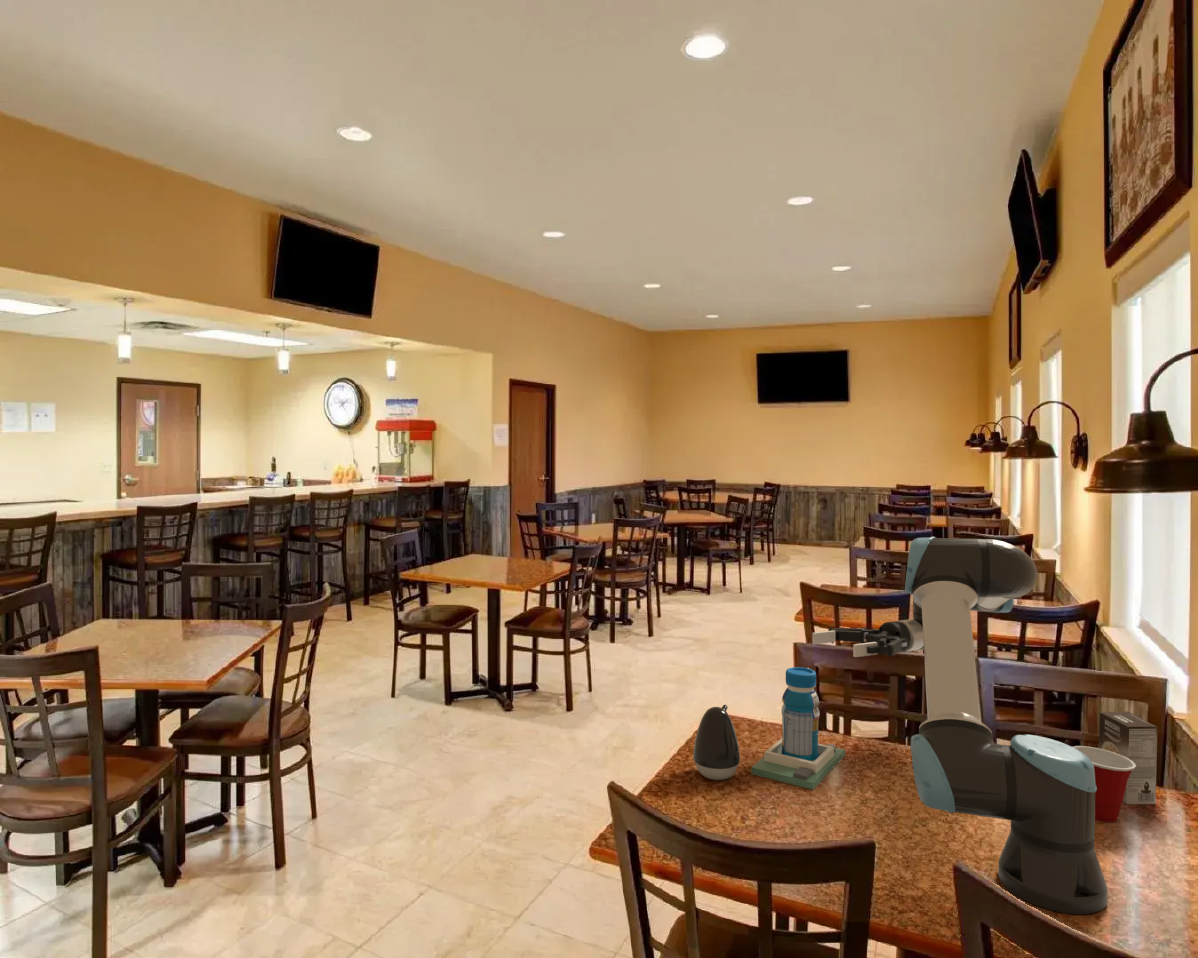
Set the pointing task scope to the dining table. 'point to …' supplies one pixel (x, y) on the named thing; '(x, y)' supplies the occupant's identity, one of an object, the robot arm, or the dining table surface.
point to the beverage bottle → (800, 715)
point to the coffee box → (1132, 752)
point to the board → (797, 765)
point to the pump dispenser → (716, 745)
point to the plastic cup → (1108, 781)
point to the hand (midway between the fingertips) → (833, 644)
